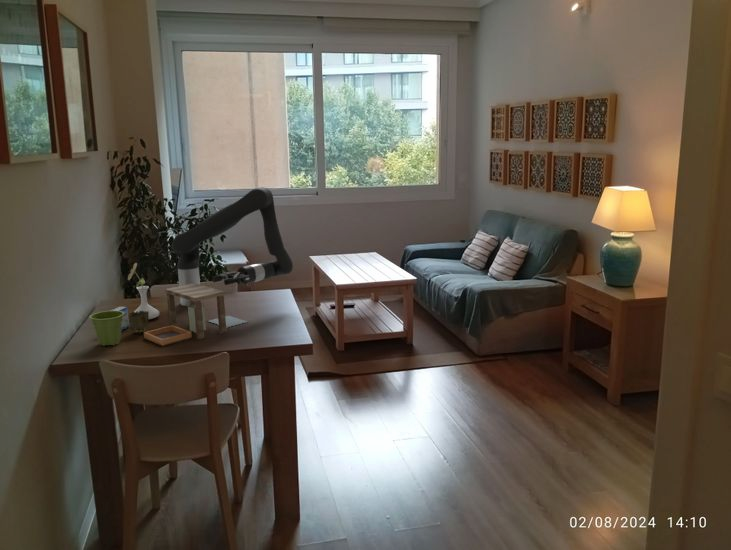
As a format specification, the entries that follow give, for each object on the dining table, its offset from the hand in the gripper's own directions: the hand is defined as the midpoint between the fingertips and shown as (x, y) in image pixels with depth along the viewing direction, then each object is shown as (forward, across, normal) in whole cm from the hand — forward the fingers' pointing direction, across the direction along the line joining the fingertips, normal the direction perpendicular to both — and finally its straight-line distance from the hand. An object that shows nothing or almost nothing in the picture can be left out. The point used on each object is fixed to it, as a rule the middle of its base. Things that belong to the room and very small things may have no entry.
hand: (218, 281), depth 242 cm
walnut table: (+11, 0, +18) cm, 21 cm away
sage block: (+11, 0, +18) cm, 21 cm away
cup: (+27, -16, +18) cm, 37 cm away
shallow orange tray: (+24, 0, +18) cm, 30 cm away
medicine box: (+31, -26, +18) cm, 45 cm away
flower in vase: (+17, -32, +18) cm, 41 cm away
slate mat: (-3, 0, +18) cm, 18 cm away
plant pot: (+41, -12, +18) cm, 47 cm away
